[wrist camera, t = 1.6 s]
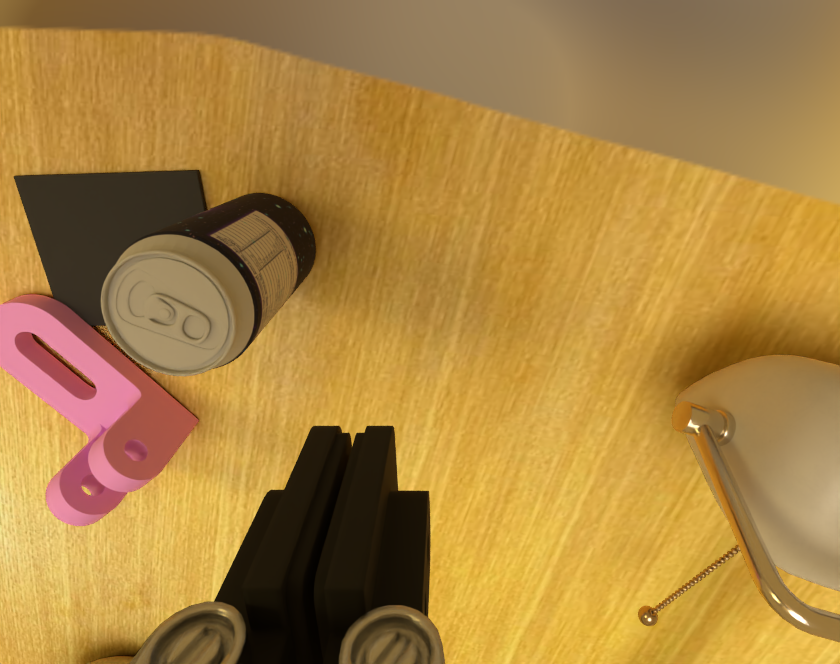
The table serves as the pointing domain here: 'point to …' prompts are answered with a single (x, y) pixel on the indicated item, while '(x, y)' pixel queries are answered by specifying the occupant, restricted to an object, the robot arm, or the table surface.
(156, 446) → the bracket
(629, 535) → the table surface
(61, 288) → the rubber mat
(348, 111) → the table surface
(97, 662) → the planter
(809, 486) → the lamp
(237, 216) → the beverage can
